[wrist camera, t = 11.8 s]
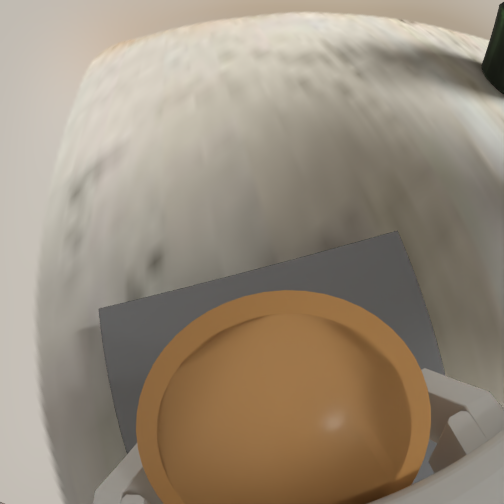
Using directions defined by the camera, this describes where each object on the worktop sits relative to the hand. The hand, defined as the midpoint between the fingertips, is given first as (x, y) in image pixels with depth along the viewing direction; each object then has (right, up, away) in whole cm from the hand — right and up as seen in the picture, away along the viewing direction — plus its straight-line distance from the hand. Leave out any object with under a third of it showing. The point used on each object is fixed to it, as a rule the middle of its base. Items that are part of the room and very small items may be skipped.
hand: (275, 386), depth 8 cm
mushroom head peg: (+1, -2, +4) cm, 5 cm away
